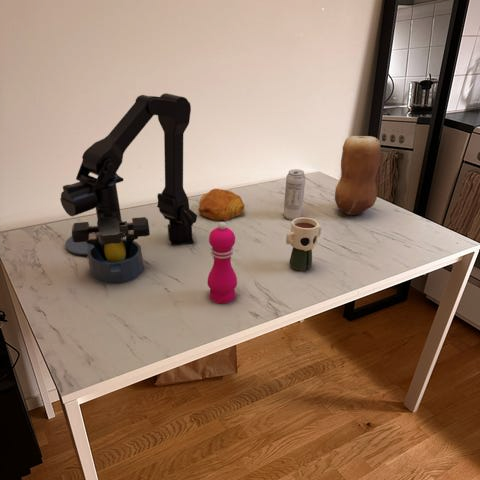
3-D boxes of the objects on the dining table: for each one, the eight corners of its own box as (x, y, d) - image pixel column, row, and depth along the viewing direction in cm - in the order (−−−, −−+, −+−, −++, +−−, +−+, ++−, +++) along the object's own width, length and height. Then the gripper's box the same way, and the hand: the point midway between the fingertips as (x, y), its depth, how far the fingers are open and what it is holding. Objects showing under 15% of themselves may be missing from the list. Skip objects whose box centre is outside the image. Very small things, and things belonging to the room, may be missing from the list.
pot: (141, 250, 131) (138, 232, 128) (145, 286, 117) (143, 266, 113) (92, 255, 129) (88, 236, 125) (90, 292, 114) (86, 272, 111)
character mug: (291, 277, 122) (295, 232, 114) (276, 265, 126) (280, 221, 119) (324, 267, 126) (330, 224, 118) (309, 256, 131) (314, 213, 123)
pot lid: (117, 231, 141) (114, 215, 138) (118, 254, 130) (115, 237, 126) (67, 235, 138) (63, 219, 135) (64, 259, 127) (60, 242, 123)
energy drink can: (304, 215, 152) (309, 171, 143) (296, 222, 148) (300, 176, 139) (288, 211, 155) (292, 167, 146) (279, 217, 151) (283, 172, 142)
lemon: (122, 270, 119) (118, 243, 114) (103, 268, 120) (97, 240, 115) (131, 260, 123) (127, 233, 119) (112, 257, 124) (107, 231, 119)
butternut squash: (346, 201, 162) (359, 127, 147) (380, 213, 155) (397, 136, 140) (323, 212, 154) (334, 136, 139) (357, 225, 147) (373, 146, 132)
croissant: (215, 205, 162) (213, 183, 158) (251, 211, 154) (250, 187, 150) (188, 218, 153) (185, 194, 149) (225, 225, 144) (223, 200, 140)
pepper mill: (207, 288, 116) (205, 215, 104) (235, 288, 117) (237, 215, 105) (208, 305, 111) (206, 230, 98) (237, 304, 111) (239, 229, 99)
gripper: (64, 220, 103) (78, 278, 113) (148, 213, 107) (154, 270, 116) (67, 200, 112) (80, 256, 121) (144, 195, 115) (151, 249, 125)
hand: (116, 258), depth 121 cm, fingers closed on lemon, 5 cm apart
